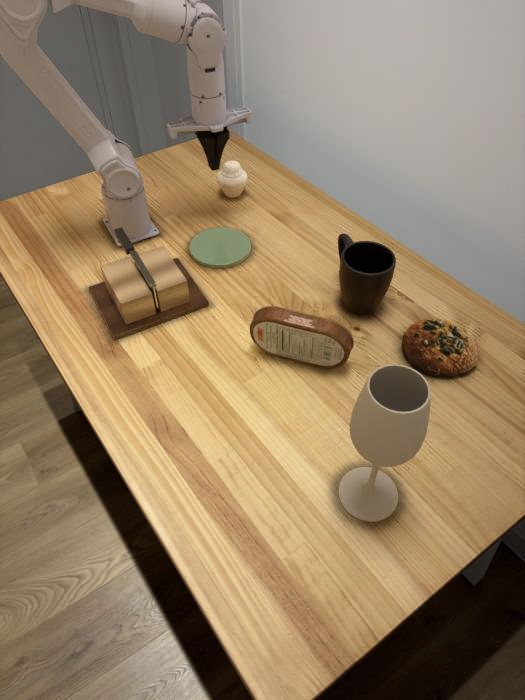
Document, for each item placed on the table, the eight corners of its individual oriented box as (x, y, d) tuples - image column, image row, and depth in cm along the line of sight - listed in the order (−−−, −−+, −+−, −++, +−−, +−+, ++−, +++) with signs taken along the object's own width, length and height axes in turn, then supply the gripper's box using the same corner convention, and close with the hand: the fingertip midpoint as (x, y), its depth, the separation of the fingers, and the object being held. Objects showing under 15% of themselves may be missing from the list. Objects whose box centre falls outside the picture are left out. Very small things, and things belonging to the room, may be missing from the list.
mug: (359, 268, 96) (366, 222, 89) (395, 313, 88) (406, 266, 81) (316, 280, 94) (320, 233, 87) (350, 327, 86) (357, 280, 79)
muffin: (253, 189, 112) (252, 157, 107) (239, 204, 109) (238, 172, 103) (226, 182, 114) (224, 150, 109) (212, 197, 110) (209, 165, 105)
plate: (180, 241, 101) (179, 237, 100) (234, 224, 104) (233, 220, 104) (205, 276, 94) (204, 272, 94) (261, 256, 98) (261, 252, 97)
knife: (119, 252, 96) (113, 227, 92) (127, 249, 97) (121, 225, 93) (153, 310, 86) (148, 285, 83) (162, 307, 87) (157, 282, 83)
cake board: (89, 290, 92) (81, 265, 88) (178, 260, 97) (174, 236, 93) (114, 340, 85) (106, 315, 81) (209, 305, 90) (206, 280, 86)
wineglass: (331, 468, 70) (350, 360, 54) (391, 464, 70) (427, 354, 54) (342, 526, 65) (367, 424, 49) (406, 520, 65) (451, 418, 49)
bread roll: (393, 366, 80) (401, 340, 77) (406, 323, 88) (415, 298, 85) (470, 390, 78) (482, 364, 75) (477, 344, 86) (488, 319, 83)
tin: (350, 362, 81) (357, 321, 75) (345, 377, 79) (352, 337, 73) (254, 338, 85) (253, 297, 78) (247, 352, 83) (246, 312, 77)
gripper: (171, 109, 85) (182, 187, 95) (258, 92, 89) (259, 169, 99) (159, 91, 89) (170, 168, 100) (242, 76, 93) (244, 151, 103)
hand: (213, 167), depth 100 cm, fingers closed
